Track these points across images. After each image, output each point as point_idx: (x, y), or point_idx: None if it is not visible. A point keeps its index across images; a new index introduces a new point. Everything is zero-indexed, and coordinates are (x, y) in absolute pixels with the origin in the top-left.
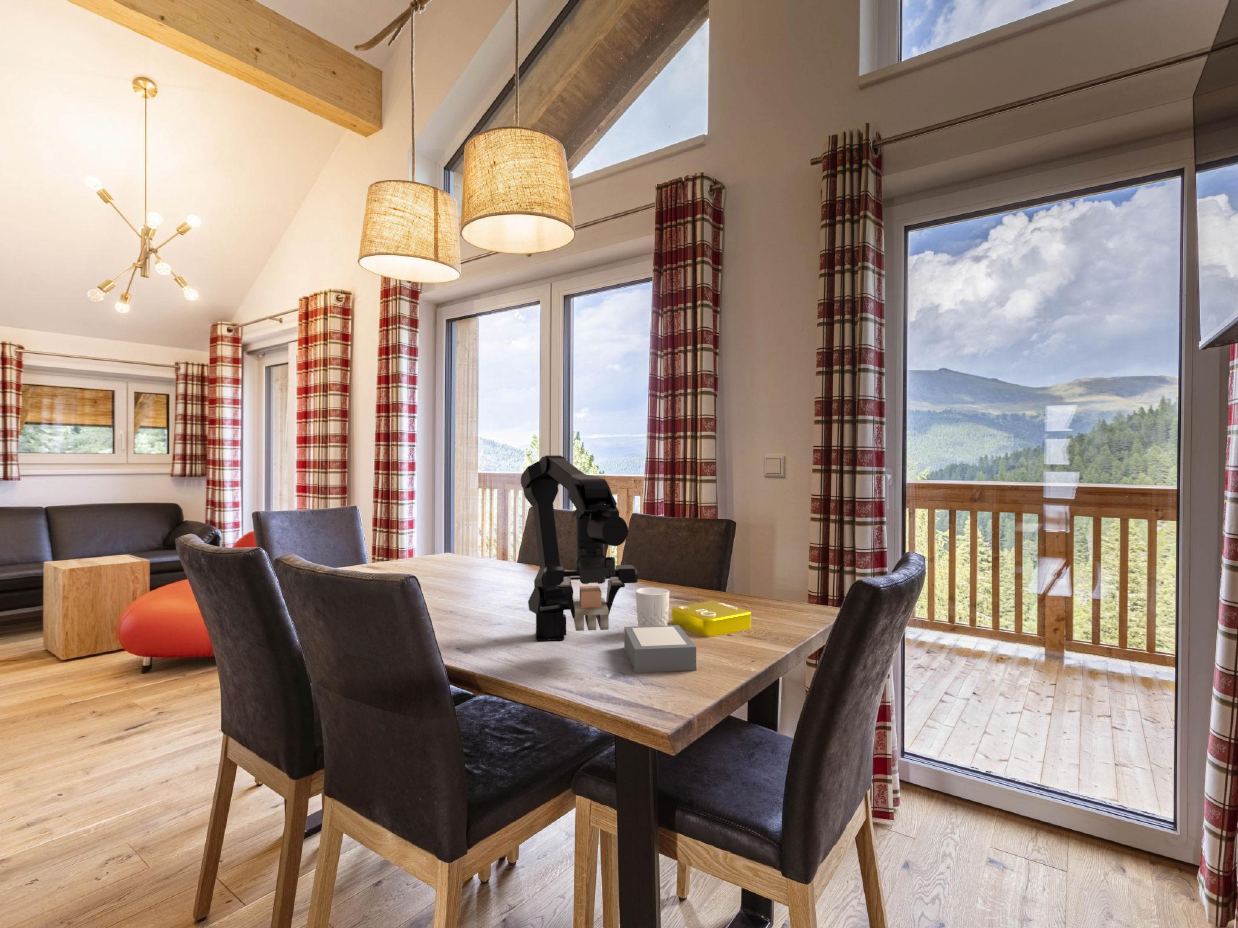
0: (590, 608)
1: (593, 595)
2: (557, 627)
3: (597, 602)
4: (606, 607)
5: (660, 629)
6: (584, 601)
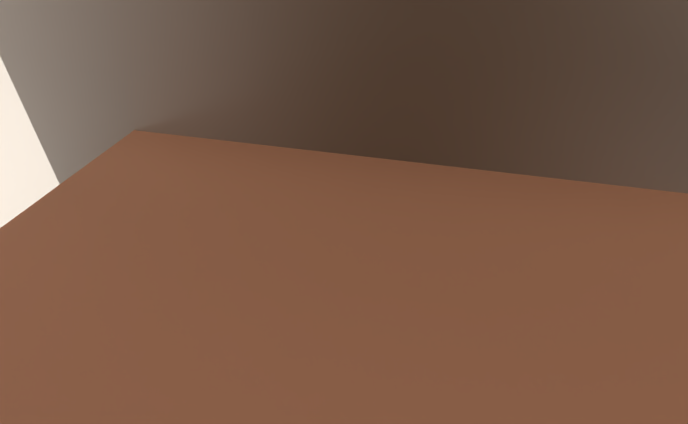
0: (387, 28)
1: (68, 414)
2: None
3: (135, 203)
4: (29, 69)
5: (29, 201)
6: (543, 316)
